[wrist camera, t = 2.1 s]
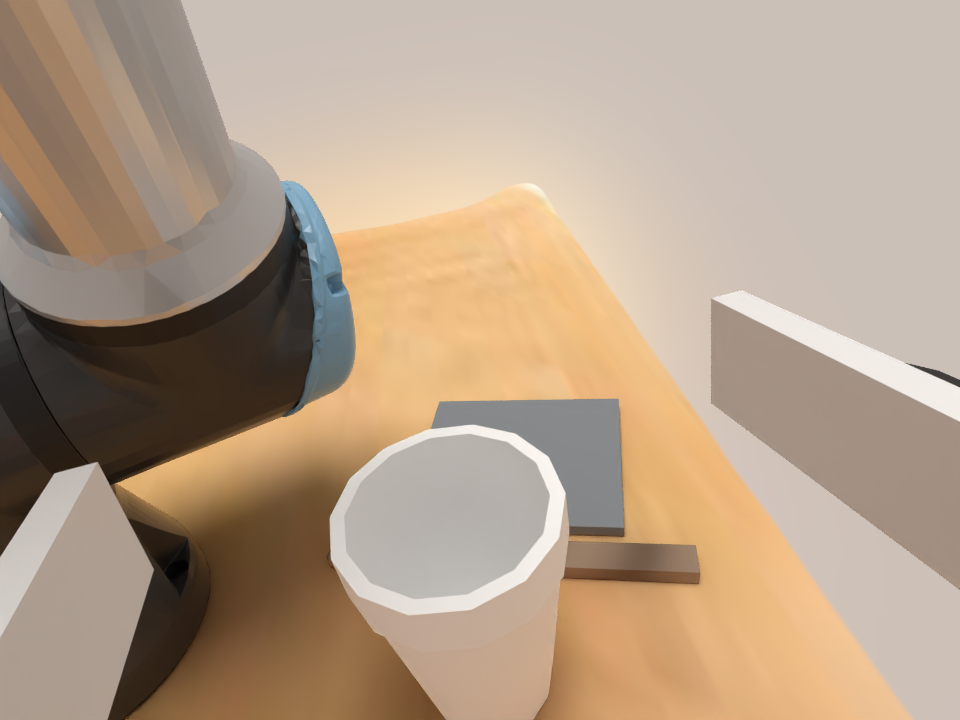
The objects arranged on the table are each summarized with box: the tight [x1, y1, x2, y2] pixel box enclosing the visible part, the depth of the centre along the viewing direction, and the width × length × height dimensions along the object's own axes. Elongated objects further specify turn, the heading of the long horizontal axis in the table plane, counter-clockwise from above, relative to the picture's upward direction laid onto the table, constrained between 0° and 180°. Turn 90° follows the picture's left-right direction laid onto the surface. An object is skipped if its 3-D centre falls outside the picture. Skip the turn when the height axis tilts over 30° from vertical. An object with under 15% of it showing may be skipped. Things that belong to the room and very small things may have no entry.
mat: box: [431, 399, 624, 536], centre depth 43 cm, size 14×12×1 cm
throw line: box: [327, 541, 700, 584], centre depth 37 cm, size 22×2×1 cm, turn 82°
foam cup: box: [330, 425, 569, 720], centre depth 28 cm, size 10×9×13 cm
